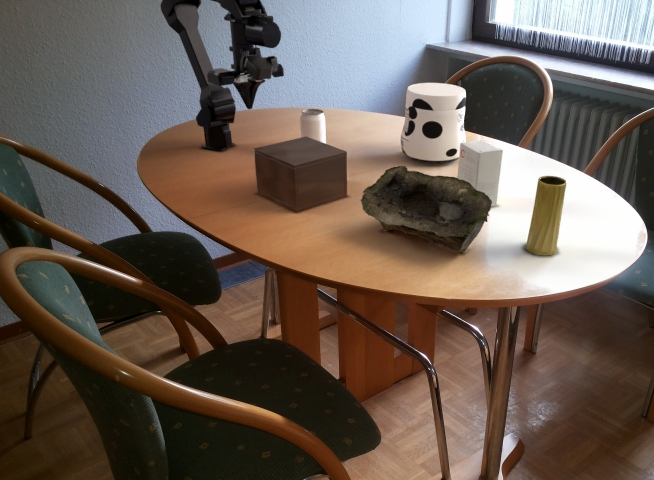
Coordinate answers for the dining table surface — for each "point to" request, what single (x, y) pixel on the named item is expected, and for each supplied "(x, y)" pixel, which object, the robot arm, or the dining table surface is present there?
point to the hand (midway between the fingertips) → (249, 108)
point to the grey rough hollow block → (428, 206)
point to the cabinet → (301, 173)
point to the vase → (546, 215)
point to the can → (313, 124)
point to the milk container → (433, 122)
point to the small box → (481, 167)
